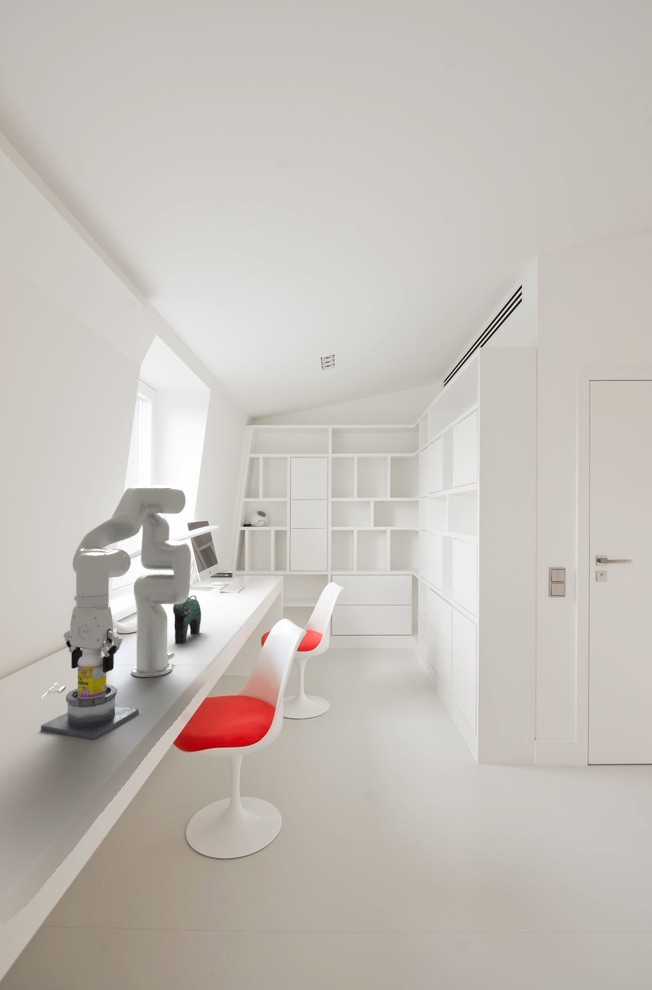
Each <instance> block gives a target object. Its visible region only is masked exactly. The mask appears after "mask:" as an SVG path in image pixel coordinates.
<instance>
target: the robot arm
mask: <svg viewBox="0 0 652 990" xmlns="http://www.w3.org/2000/svg"><path fill="white" fill-rule="evenodd" d="M186 501H187V500H186V495H185V492H184V491H183V490H182V489H181V488H180V487H176V486H169V485H160V484H159V485H158V484H157V485H156V484H155V485H153V484H152V485H151V484H150V485H143V484H142V485H141V484H140V485H132V486H130V487H128V488H127V489H125V491H124V492H123V495H122V497H121V498H120V500H119V502H118V505H117V506H116V509H115V510H114V512H113V514H112V516H111V518H109V519H108V520H105V521H103V522H102V523H100V524H99V525H98V526H96V527H94V528H93V529H92V530H90V531H89V532H88V533H87V534H85V535H84V536H83V538H82V540H81V541H80V543H79V545H78V547H77V549H76V550H75V553H74V556H73V559H72V568H73V571H74V573H75V574H76V575H75V576H76V577H75V578H76V579H75V581H76V582H75V584H76V588H75V590H76V593H75V596H74V598H73V599H74V601H75V605H76V606H74V607H73V609H72V613H71V619H70V626H69V630H68V631H67V632H65V633H64V634H63V637H64V639H65V640H64V641H65V644H66V646H67V648H68V651H69V654H70V653H71V657H70V659H71V663H70V664H71V665H70V667H71V669H76V668H77V669H78V660H79V658H80V657H82V656H83V652H82V648H87V649H101V650H102V652H101V653H102V654H103V655H105V656H104V657H103V672H104V673H106V674H107V673H108V672H110V671H113V670H114V664H115V661H114V660H115V659H114V658H115V654H116V653H117V651H118V650H119V649H120V646H121V644H122V641H123V638H122V637H121V636H120V635H118V634H117V633H115V632H114V624H113V616H112V609H111V606H110V605H109V600H110V599H109V596H110V595H109V592H110V591H109V588H110V587H109V584H110V583H109V582H110V581H109V579H110V578H118V577H122V576H124V575H125V574H126V573H127V572H128V571H129V569H130V567H131V556H130V554H129V553H128V552H127V551H126V550H124V549H120V548H105V547H107V546H110V545H111V544H115V543H118V542H122V541H124V540H127V539H130V538H132V537H134V536H136V535H137V534H138V533H139V532H140V530H141V529H142V536H141V537H142V538H141V549H140V550H141V552H140V553H141V554H140V562H141V565H142V567H143V568H144V569H145V570H149V571H172V572H173V574H167V573H165V574H164V573H161V574H160V573H159V574H157V573H149V574H143V575H140V576H139V577H137V578H136V579H135V581H134V584H133V595H134V601H135V606H136V607H135V608H136V665H135V666H133V667H132V668H131V675H133V676H134V677H137V678H138V677H139V678H154V677H160V676H164V675H167V674H169V673H170V672H171V671H172V669H173V665H172V664H170V663H169V660H172V659H173V658H174V657H175V654H174V652H169V653H168V615H167V612H166V610H165V608H164V607H163V606H162V605H174V604H182V603H184V602H185V601H186V600H187V599H188V597H189V595H190V589H191V588H190V587H191V586H190V585H191V565H192V554H191V553H192V552H191V549H190V546H189V545H188V544H187V543H186V542H184V541H175V540H174V541H173V540H171V541H170V525H169V523H168V521H167V519H166V518H165V517H164V515H163V514H166V515H167V514H169V515H170V514H172V515H173V514H174V515H175V514H180V513H182V512H183V510H185V509H184V508H185V506H186Z"/></svg>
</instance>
